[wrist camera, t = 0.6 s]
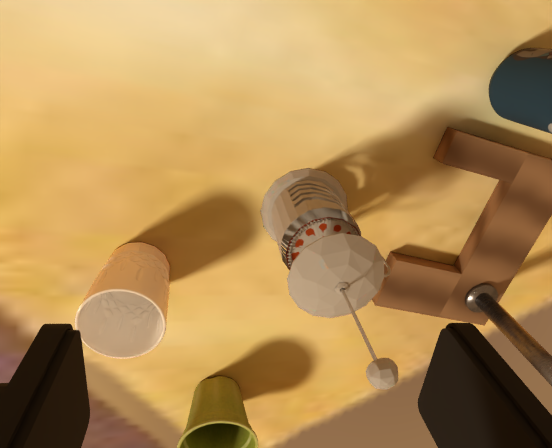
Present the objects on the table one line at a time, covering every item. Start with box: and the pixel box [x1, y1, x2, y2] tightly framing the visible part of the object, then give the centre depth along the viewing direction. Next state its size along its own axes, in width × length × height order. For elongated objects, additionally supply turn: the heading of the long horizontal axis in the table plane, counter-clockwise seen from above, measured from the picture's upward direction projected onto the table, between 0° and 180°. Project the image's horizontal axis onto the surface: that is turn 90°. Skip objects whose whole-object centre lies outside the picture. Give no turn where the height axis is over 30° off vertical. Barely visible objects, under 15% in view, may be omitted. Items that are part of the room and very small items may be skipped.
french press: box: [261, 168, 398, 389], centre depth 35 cm, size 10×12×25 cm
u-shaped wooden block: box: [372, 127, 552, 325], centre depth 49 cm, size 22×16×2 cm
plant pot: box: [177, 376, 258, 448], centre depth 52 cm, size 9×9×9 cm
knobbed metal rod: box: [465, 283, 552, 386], centre depth 43 cm, size 13×4×18 cm, turn 163°
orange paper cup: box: [75, 242, 170, 359], centre depth 42 cm, size 8×8×10 cm
